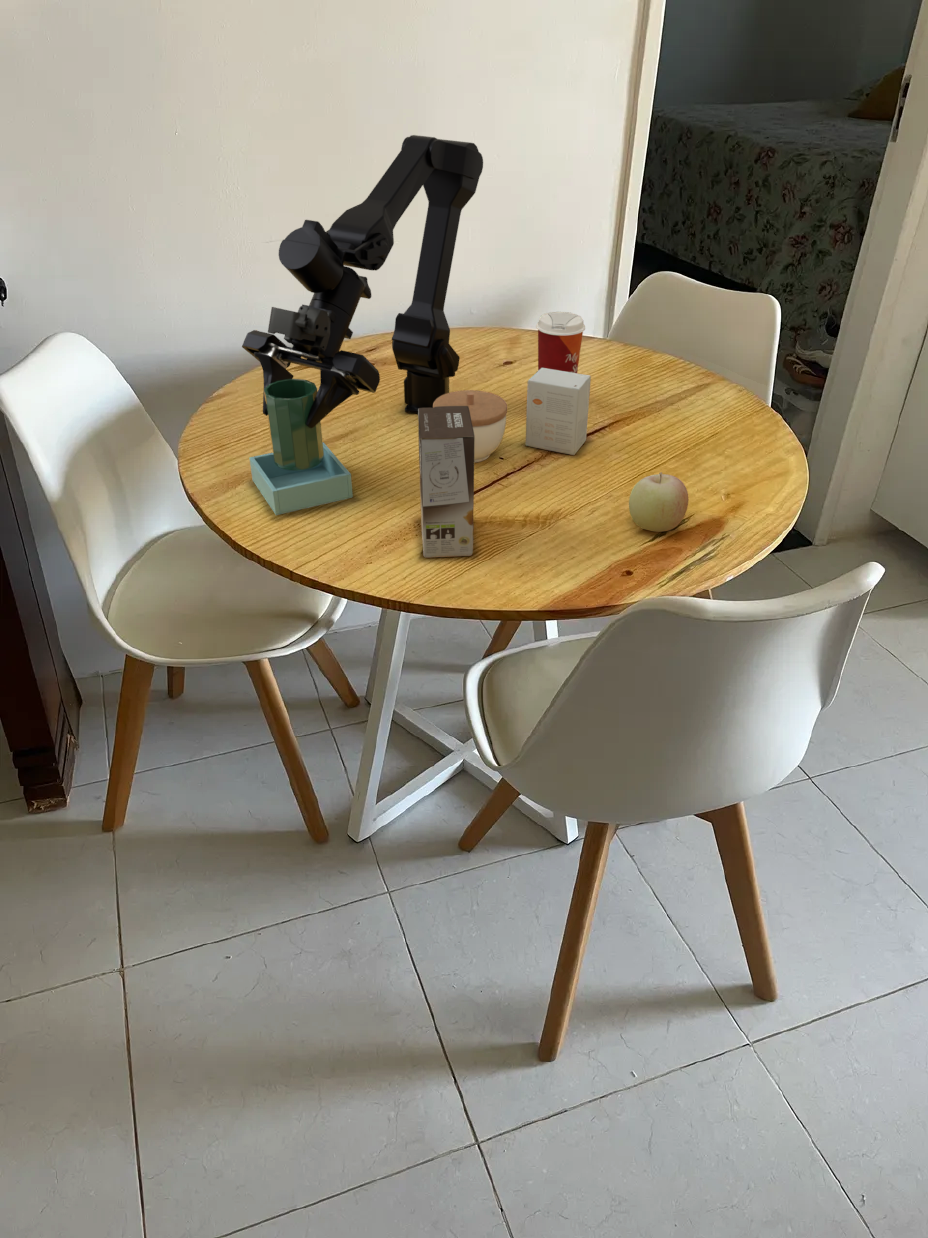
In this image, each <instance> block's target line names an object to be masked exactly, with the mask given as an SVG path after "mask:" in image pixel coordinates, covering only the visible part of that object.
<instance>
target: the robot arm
mask: <svg viewBox="0 0 928 1238" xmlns="http://www.w3.org/2000/svg"><path fill="white" fill-rule="evenodd" d="M478 148H479V147H478V146H477V145H476V144H475V143H474V142H469V141H460V140H451V139H450V140H449V139H441V138H437V137H435V136H425V135H416V134H411V135H409V136H406V137H405V138H404V139H403V141H402V143H401V149H400V151H399V152H398V154H397V156H395V158H394V159H393V161H392V162H391V164H390V165H389V167H387V169H386V171H385V172H384V174H382V176H381V177H380V179H379V180H378V182H377V183H376V184H375V185H374V187H373V189H372V190H371V192H370V193H369V195H367V197H366V198H365V200H363V201H362V202H361V203H359V204H356V205H355V206H353V207H349V208H347V209H346V210H345V211H344V212H342V214H341V215H339V217H337V218H336V219H335V220H334V221H333V223H332V224H331V225H330V228H329V229H328V230H325V228H324V226H323V225H322V224H321V223H320V221H318V220H312V219H304V221H303V224H302V226H301V227H299V228H296V229H294V230H292V231H291V232H290V233H289V234H288V235H287V236H286V237H285V238H284V239H282V240H281V243H280V244H279V247H278V259H279V262H280V264H281V265H282V266H283V267H284V268H285V269H286V270H287V271H288V272H289V273H290V274H291V275H292V276H293V277H294V278H295V279H296V280H297V281H298V282H299V284H301V285H302V287H304V289H306V291H308V292H310V293H312V294H313V295H312V297H311V300H310V302H309V304H301V305H300V306H299V308H298V310H297V311H293V310H289V309H284V308H279V307H275V306H271V310H270V316H269V321H268V328H267V332H264V331H261V330H256V329H253V330H251V331H249V332H247V333H246V335H245V337H244V340H243V342H242V346H241V348H242V349H244V350H245V351H246V352H247V353H249V354H250V355H251V356H252V357H253V358H255V359H256V360H257V361H258V362H259V364H260V366H261V368H262V369H261V370H262V375H263V395H262V414H263V415H264V416H266V417H267V410H266V402H265V395H264V389H265V388H266V387H267V386H268V385H269V384H271V383H273V382H276V381H279V380H285V379H294V377H295V375H293V374H292V373H291V372H290V371H289V370H288V368H290V366H291V364H295V365H298V366H302V367H307V368H309V369H310V368H311V369H314V370H319V371H320V373H319V374H320V377H319V379H320V381H319V383H320V384H319V387H318V389H317V395H316V397H315V400H314V402H313V405H312V407H311V410H310V412H309V415H308V419H307V423H306V426H308V427H309V428H313V427H314V426H316V425H317V424H318V423H319V422H322V420H323V419H324V418H326V417H327V416H328V415H329V414H330V413H331V412H332V411H333V410H335V409H336V408H338V406H340V405H341V404H342V403H344V402H345V401H346V400H348V399H349V398H350V397H352V396H358V395H360V391H364V392H368V393H372V394H375V393H377V392H376V391H377V389H378V386H379V384H380V382H381V376H380V375H381V374H380V371H379V370H378V369H377V368H376V366H375V365H373V364H372V362H370V360H368V359H367V357H365V355H364V354H361V353H357V352H356V353H355V352H351V351H346V350H343V349H342V345H343V342H344V340H345V339H347V340H351V339H352V337H353V334H354V332H353V330H351V328H350V325H351V323H352V320H353V318H354V315H355V313H356V311H357V308H358V305H359V303H360V300H361V298H362V299H367V300H371V298H372V290H371V287H370V286H369V283H368V282H369V281H368V277H367V276H363V275H360V274H358V273H357V271H356V270H354V268H355V269H362V270H368V271H378V270H380V269H381V267H383V265H384V264H385V262H386V260H387V259H388V256H389V254H390V253H391V250H392V249H393V247H394V244H395V239H394V229H395V227H396V226H397V224H398V222H399V220H400V219H401V217H402V216H403V215H404V214H405V212H406V210H407V209H408V207H409V206H410V204H411V203H412V202H413V201H414V199H415V197H416V196H417V194H418V193H419V191H420V190H421V189H422V187H423V189H424V192H425V195H426V199H427V201H428V205H427V210H426V217H425V223H424V229H423V234H422V241H421V246H420V251H419V259H418V264H417V271H416V276H415V282H414V288H413V294H412V300H411V303H410V305H409V306H408V308H407V309H406V310H405V311H404V313H402V312H399V313H398V314H397V315H396V317H395V322H394V323H395V324H394V330H393V334H392V336H391V341H392V342H391V349H392V353H393V356H394V359H395V363H396V367H397V369H398V370H400V371H401V370H403V371H406V376H405V378H404V380H403V400H404V404H405V405H406V406H405V407H404V412H405V413H412V414H418V409H419V408H433V403H434V402H435V400H436V399H437V398H438V397H440V396H442V395H444V394H447V393H450V378H452V377H453V378H454V377H455V376H456V372H458V370H459V366H460V358H461V357H460V355H459V354H458V353H457V351H456V350H455V349H454V348H453V346H451V344H450V337H451V336H450V335H451V329H450V326H449V323H448V320H447V316H446V314H445V311H444V310H445V303H446V298H447V293H448V287H449V281H450V275H451V271H452V266H453V265H452V264H453V259H454V253H455V248H456V243H457V236H458V231H459V226H460V220H461V214H462V210H463V209H464V208H465V207H466V205H467V204H468V203H469V202H470V200H471V199H472V198H473V196H474V195H475V194H476V191H477V188H478V184H479V181H480V177H481V175H482V173H483V168H484V157H483V155H482V152H479V149H478ZM275 334H280V335H284V336H283V340H284V341H286V342H287V343H288V344H291V345H292V346H288V345H286V344H285V343H284V342H283V341H282V340H281V339H279V337H277V336H276V335H275Z"/></svg>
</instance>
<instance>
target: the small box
mask: <svg viewBox="0 0 928 1238" xmlns="http://www.w3.org/2000/svg"><path fill="white" fill-rule="evenodd" d="M591 380H592V376H591V375H590V374H583V373H578V372H577V373H572V372H566V371H559V370H553V369H547V368H541V369H539V370H538V369H537V371H536V372H535V373H534V374H532V376H531V377H530V378H529V379H528V380H527V388H526V389H527V390H526V415H525V416H526V417H525V446H526V447H530V448H535V449H540V450H545V451H550V452H555V453H560V454H566V455H570V456H575V455H576V454H577V453H578V451H579V450H580V449H581V447H582V446H583V444H584V443H585V442H586V441H587V433H588V420H589V406H590V394H591Z"/></svg>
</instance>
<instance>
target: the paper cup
mask: <svg viewBox="0 0 928 1238" xmlns="http://www.w3.org/2000/svg"><path fill="white" fill-rule="evenodd" d="M535 328H536V329H537V371H538V370H539V369H541V368H547V369H553V370H559V371H566V372H572V373H578V371H579V370H578V369H579V363H580V355H581V347H582V343H583V335H584V331H585V330H586V325H585V324H584V318H583V317H582V316H581V315H579V314H577V313H573V312H568V311H550V312H546V313H543V314H541V315H540V317H539V318H538V322H537V323H536V325H535Z"/></svg>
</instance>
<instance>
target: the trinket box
mask: <svg viewBox="0 0 928 1238" xmlns="http://www.w3.org/2000/svg"><path fill="white" fill-rule="evenodd" d="M438 406H468V407H469V411H470V416H471V421H472V426H473V431H474V436H475V442H474V464H475V463H480V462H483V461H485V460H487V459H488V458H490V456H491V454H493V453H494V452H495V451H496V450H497V449H498V448H499V446H500V445H501V443H502V441H503V440H504V439H503V438H504V435H505V431H506V426H507V415H508V403H507V401H506V400H505V399H504V398H503V397H502V396H500V395H498V394H495V393H493V392H489V391H484V390H479V389H477V390H475V389H464V390H454V391H451V392H450V391H449V393H447V394H444V395H442V396H440V397H438V398H437V399H436V400H435V402H434V403H433V408H434V407H438Z"/></svg>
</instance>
